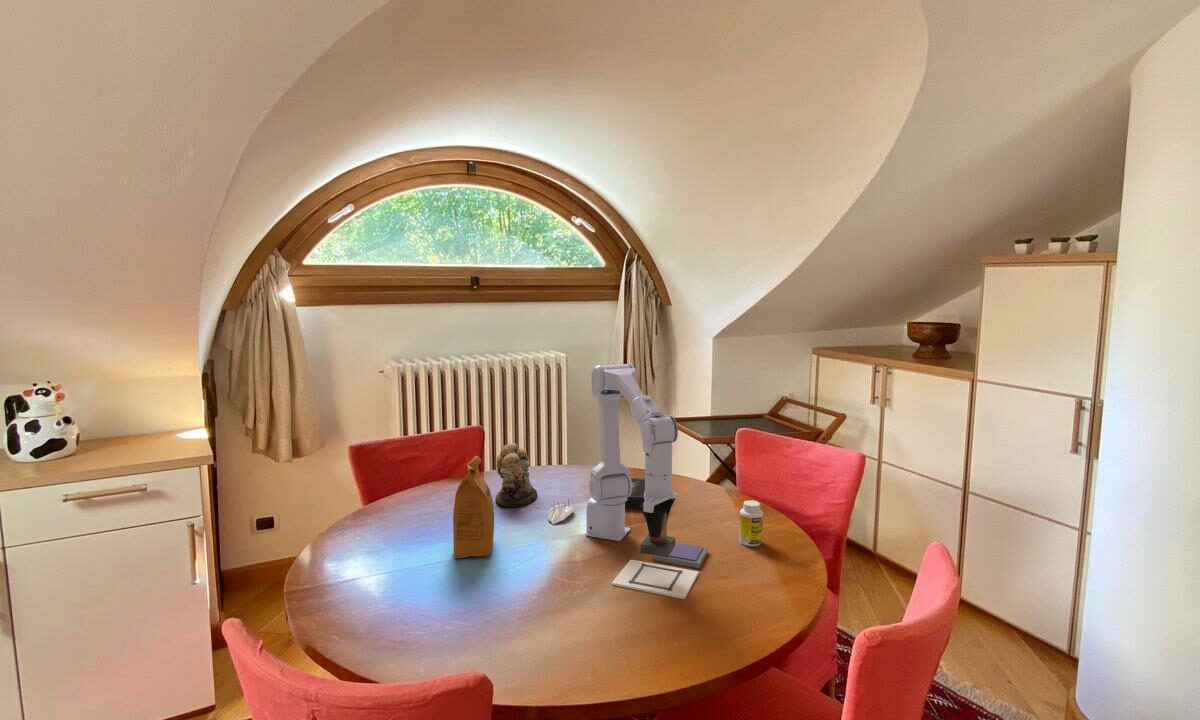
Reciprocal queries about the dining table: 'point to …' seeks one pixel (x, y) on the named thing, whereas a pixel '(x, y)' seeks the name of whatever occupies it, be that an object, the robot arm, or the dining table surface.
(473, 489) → the coffee package
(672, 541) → the stamp
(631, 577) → the marked board
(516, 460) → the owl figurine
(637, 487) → the portable cd player
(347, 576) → the dining table surface
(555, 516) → the pincushion
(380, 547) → the dining table surface
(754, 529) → the supplement bottle
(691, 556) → the ink pad
